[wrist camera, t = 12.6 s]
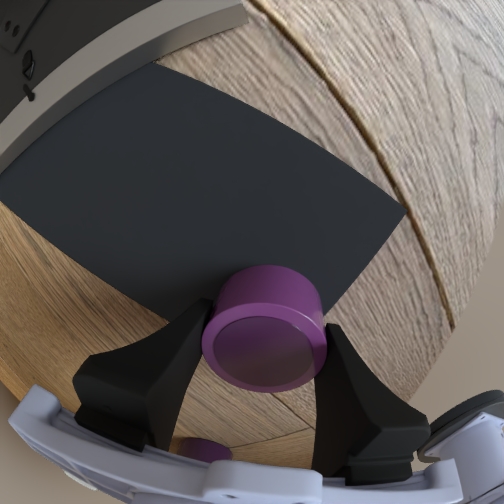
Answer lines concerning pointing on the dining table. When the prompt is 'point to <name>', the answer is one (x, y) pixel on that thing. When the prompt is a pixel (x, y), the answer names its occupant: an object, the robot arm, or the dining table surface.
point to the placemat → (193, 194)
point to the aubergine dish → (203, 450)
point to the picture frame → (86, 53)
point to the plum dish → (266, 330)
